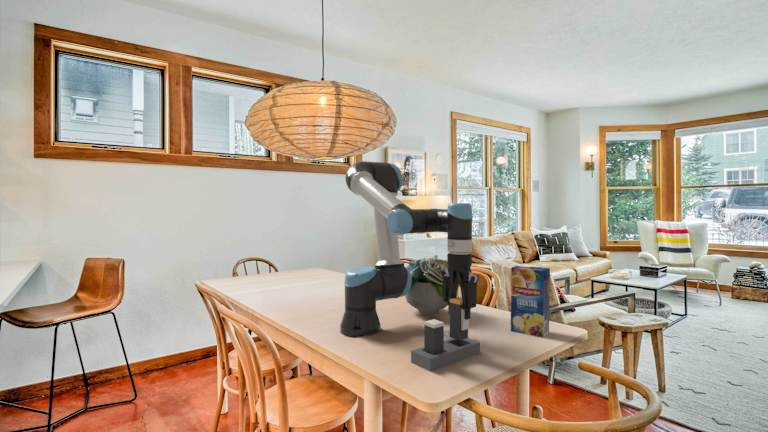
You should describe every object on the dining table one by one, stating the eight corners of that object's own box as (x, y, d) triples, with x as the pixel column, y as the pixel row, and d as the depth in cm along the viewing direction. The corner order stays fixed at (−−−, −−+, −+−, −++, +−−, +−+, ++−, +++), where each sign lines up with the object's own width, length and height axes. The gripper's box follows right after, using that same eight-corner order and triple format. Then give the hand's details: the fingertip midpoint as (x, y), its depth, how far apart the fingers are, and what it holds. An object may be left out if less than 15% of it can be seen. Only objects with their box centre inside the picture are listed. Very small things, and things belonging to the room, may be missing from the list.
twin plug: (424, 361, 121) (424, 321, 120) (433, 358, 123) (434, 319, 123) (433, 366, 118) (434, 325, 117) (443, 362, 120) (444, 322, 120)
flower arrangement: (440, 325, 159) (440, 263, 158) (388, 314, 174) (389, 258, 173) (468, 311, 179) (468, 256, 178) (419, 303, 194) (420, 252, 193)
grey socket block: (411, 365, 120) (411, 350, 120) (460, 349, 134) (460, 335, 134) (430, 374, 114) (430, 358, 114) (480, 356, 128) (480, 342, 128)
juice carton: (549, 332, 151) (550, 268, 150) (543, 337, 145) (544, 270, 144) (517, 326, 158) (517, 265, 158) (510, 331, 153) (511, 267, 152)
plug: (449, 337, 127) (449, 299, 127) (458, 334, 130) (458, 297, 130) (459, 340, 124) (459, 301, 124) (468, 337, 127) (468, 299, 126)
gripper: (431, 251, 131) (431, 323, 131) (473, 256, 117) (472, 336, 118) (447, 249, 135) (447, 319, 136) (489, 254, 122) (489, 331, 123)
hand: (459, 327), depth 127 cm, fingers closed on plug, 4 cm apart
